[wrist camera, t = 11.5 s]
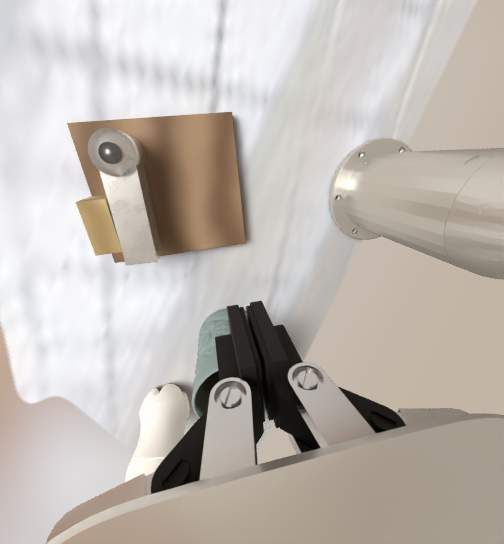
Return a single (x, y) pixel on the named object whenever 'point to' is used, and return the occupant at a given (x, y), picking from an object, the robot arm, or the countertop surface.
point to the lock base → (172, 182)
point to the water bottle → (159, 428)
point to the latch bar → (127, 193)
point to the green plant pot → (209, 360)
